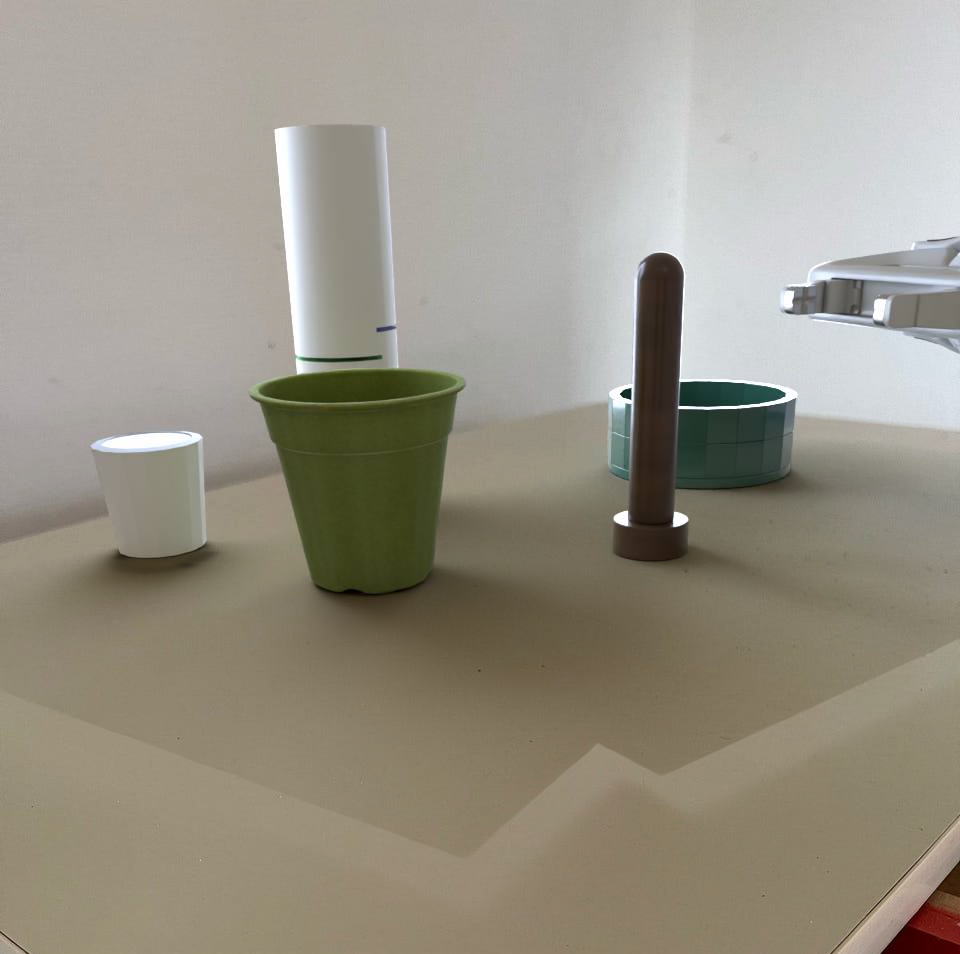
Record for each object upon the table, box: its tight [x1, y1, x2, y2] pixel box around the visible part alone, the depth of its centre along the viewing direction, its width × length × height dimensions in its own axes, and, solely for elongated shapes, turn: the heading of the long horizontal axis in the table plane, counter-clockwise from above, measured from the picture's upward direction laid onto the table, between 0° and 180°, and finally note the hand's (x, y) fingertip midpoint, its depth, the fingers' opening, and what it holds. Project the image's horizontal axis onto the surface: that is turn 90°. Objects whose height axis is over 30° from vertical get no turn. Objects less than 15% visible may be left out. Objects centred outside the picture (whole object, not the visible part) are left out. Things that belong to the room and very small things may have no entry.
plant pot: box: [248, 367, 467, 595], centre depth 58 cm, size 12×12×11 cm
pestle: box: [612, 251, 690, 562], centre depth 61 cm, size 5×5×17 cm
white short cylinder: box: [90, 430, 207, 559], centre depth 67 cm, size 7×7×7 cm
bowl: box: [606, 379, 798, 490], centre depth 83 cm, size 15×15×6 cm
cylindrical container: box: [274, 123, 400, 374], centre depth 71 cm, size 7×7×25 cm
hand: (830, 305), depth 62 cm, fingers open, 8 cm apart
